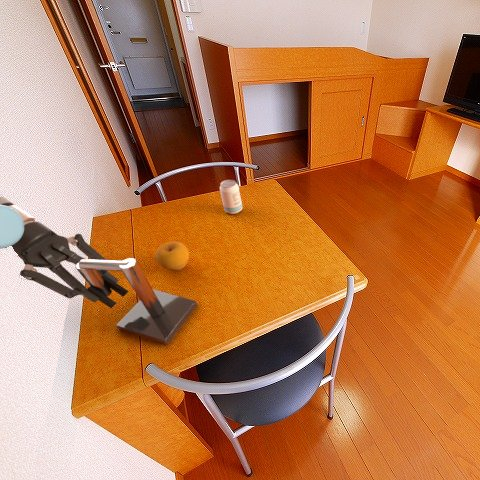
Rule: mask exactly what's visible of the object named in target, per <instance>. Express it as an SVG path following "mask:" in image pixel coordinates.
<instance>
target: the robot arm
mask: <svg viewBox="0 0 480 480" xmlns="http://www.w3.org/2000/svg"><path fill="white" fill-rule="evenodd" d="M2 196H3V195H2ZM2 196H1V197H0V250H1V249H2V250H3V249H5V248H7V247H9V246H12V247H13V249H14V251H15V252H16V253H17V254H18V256H19V257H20V258H19V257H18V256H17V257H18V258H19V259H21V260H22V262H23V264H24V267H23V269H22V270H20V272H19V276H20V275H21V276H23V277H24V278H26V279H27V281H32V282H35V283H37V284H39V285H40V286H43V287H45V288H47V289H48V290H51V291H53V292H54V293H57V294H59V295H60V296H63V297H65V298H66V299H73V298H75V297H77V296H82V297H84V298H85V299H87V300H89V301H90V302H92V303H96V302H97V301H99V302H101V303H102V304H104V305H105V306H106V307H108V308H110V309H113V308H114V307H115V306H116V305H117V302H116V301H115V300H113V299H112V298H110V297H109V296H108V297H107V296H106V295H104V294H103V293H101V292H99V291H98V290H96V289H95V288H93V287H92V286H88V287H86V286H85V284H83V283H82V282H81V281H80V280H78V279H77V278H76V276H74V275H73V274H72V273H71V272H70V271H69V270H67V269H66V268H65V267H64V266H63V264H62V262H65V261H66V262H67V263H71V264H74V265H75V266H76V264H77V263H79V262H80V261H81V260H82V259H86V258H85V257H82V256H81V255H79V254H77V253H76V252H75V251H73V250H71V249H70V245H72V246H73V247H76V248H77V249H78V250H79V251H80V252H81V253H83V254H84V255H85V256H86V257H87V258H88V259H92V260H107V258H105V257H103V256H102V255H101V253H99V252H98V251H97V250H96V249H94V248H93V247H92V246H91V245H89V244H88V243H87V242H86V241H85V239H84V237H83V235H82V234H81V233H76V234H75V235H73V236H69V237H66V236H63V235H59V234H57V233H56V232H55V231H53V230H52V229H51V228H49V227H48V226H46V225H45V224H43V223H42V222H40V221H36V219H35V217H34V216H32V215H31V214H29V213H28V212H26V211H25V210H23V209H22V208H20V207H19V206H17V205H16V204H14V203H13V202H11V201H10V200H9V199H8V198H7V197H4V196H3V197H2ZM37 268H43V269H44V268H45V269H48V270H49V271H50V272H52V274H55V275H56V276H57V277H58V278H60V279H61V280H62V281H63V282H64V283H65V284H66V285H68V286H69V287H68V286H66V285H65V284H63V283H61V282H59V281H57V280H55V279H53V278H51V277H49V276H47V275H45V274H44V273H41V272H38V269H37ZM97 271H98V272H99V273H100V275H101V276H102V277H103V279H104V280H105V282H106V283H107V284H108V286H109V287H110V289H111V290H112V291H114V292H115V293H117V294H118V295H120V296H121V297H122V298H123V297H125V296H126V295H127V294H128V293H129V290H128V289H126V288H124V287H123V286H122V285H120V284H119V279H118V278H117V276H114V275H113V274H112V273H110V272H109V271H108V270H97ZM26 279H25V280H26Z"/></svg>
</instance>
